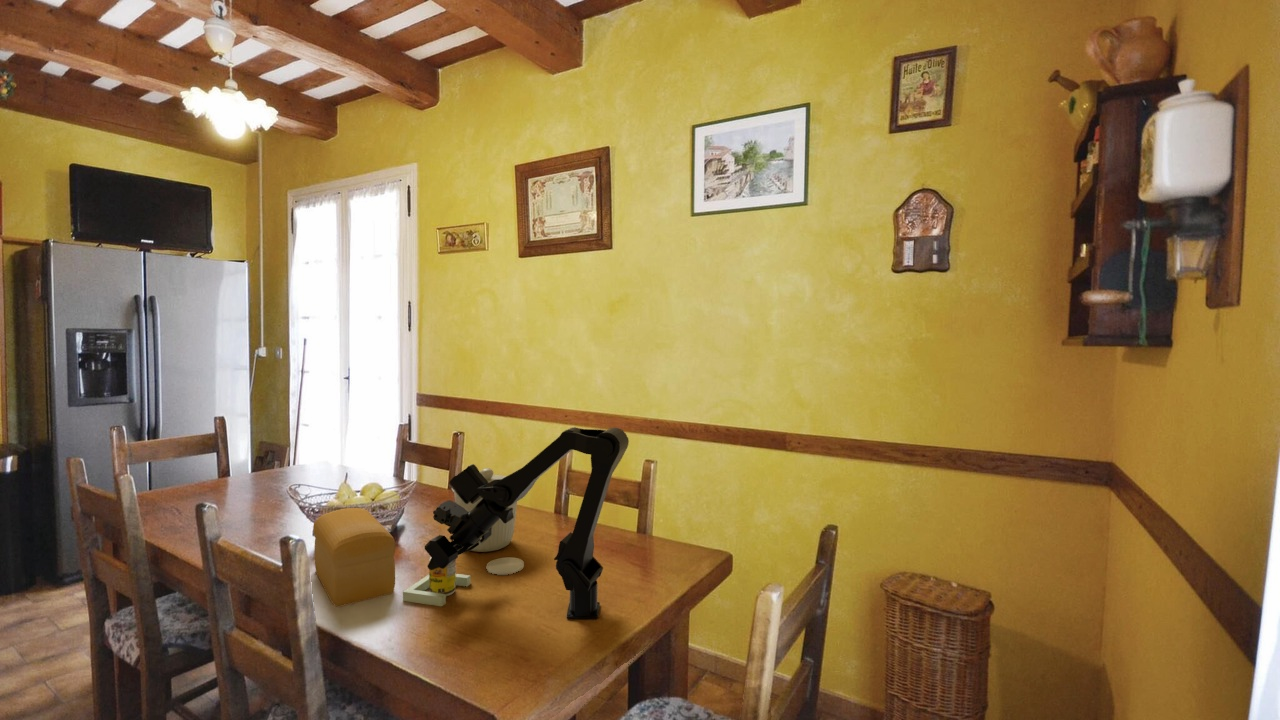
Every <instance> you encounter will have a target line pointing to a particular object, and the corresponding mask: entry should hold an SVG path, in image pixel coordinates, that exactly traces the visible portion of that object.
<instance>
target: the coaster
mask: <svg viewBox="0 0 1280 720" xmlns="http://www.w3.org/2000/svg"><path fill="white" fill-rule="evenodd" d="M524 568H525V562H524V561H523V559H521V558H517V557H506V556H505V557H501V558H496V559H493V560H491V561H489V562H488V563H487V564H486V569H487V570H486V571H488V572H487V573H488V574H491V573H492V574H491V575H494V574H497V575H496V576H508V574H509V575H513V573H514V574H517V573H519V572H520V571H522V570H523V569H524ZM518 571H519V572H518ZM516 572H517V573H516Z"/></svg>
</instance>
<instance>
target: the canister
mask: <svg viewBox="0 0 1280 720" xmlns="http://www.w3.org/2000/svg"><path fill="white" fill-rule="evenodd" d="M479 472H480V473H481V474H482V475H483V476H484V478H485V479H486V480H487V481H488V483H489V482H491V481H493V480H495V479H503V478H505V477H506V476H507V475H504V474H494V470H493V469H491V468H487V467H486V468H482V469H481V470H480V471H479ZM451 491H452V492H453V493H454V502H455V503H457V504H458V505H460V506H462V507H463V508H465V510H467V511H468V512H469V511H471V510H472V509H473V508H474V507H475V506H476V505H477V504H478V503H479V502H480V501H481V500H482V499H483V498H482V497H481V498H480V499H479V500H478V501H477V502H475V503H474V504H472V503H471V501H470V502H469V503H468V504H466V503H464V502H463V500H462V499H461V498H460V497H459V496H458V495H457V493H456V492H455V491H454V490H453V489H452V488H451ZM517 507H518V501H517V502H515V503H514V504H512V505H510V506H509V508H513V516H514V518H513V519H512V520H510V521H509V522H507V523H503V521H502V520H501V519H499V520H498V521H497V522H496V523H495V524H494V525H493V526H492V527H491V528H492V529H491V536H490V537H489V538H488V539H487V540H485V541H484V542H482V543H480V542H478V543H479V545H478V546H477V547H475V548H474V549H472V550H470V551H472V552H478V553H487V552H495V551H499V550H501V549H504V548H505V547H507V546H509V545H510V543H511V541H512V540H513V536H514V531H515V526H516V525H515V523H516V516H517ZM481 539H482V537H481V538H480V540H481Z"/></svg>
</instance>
